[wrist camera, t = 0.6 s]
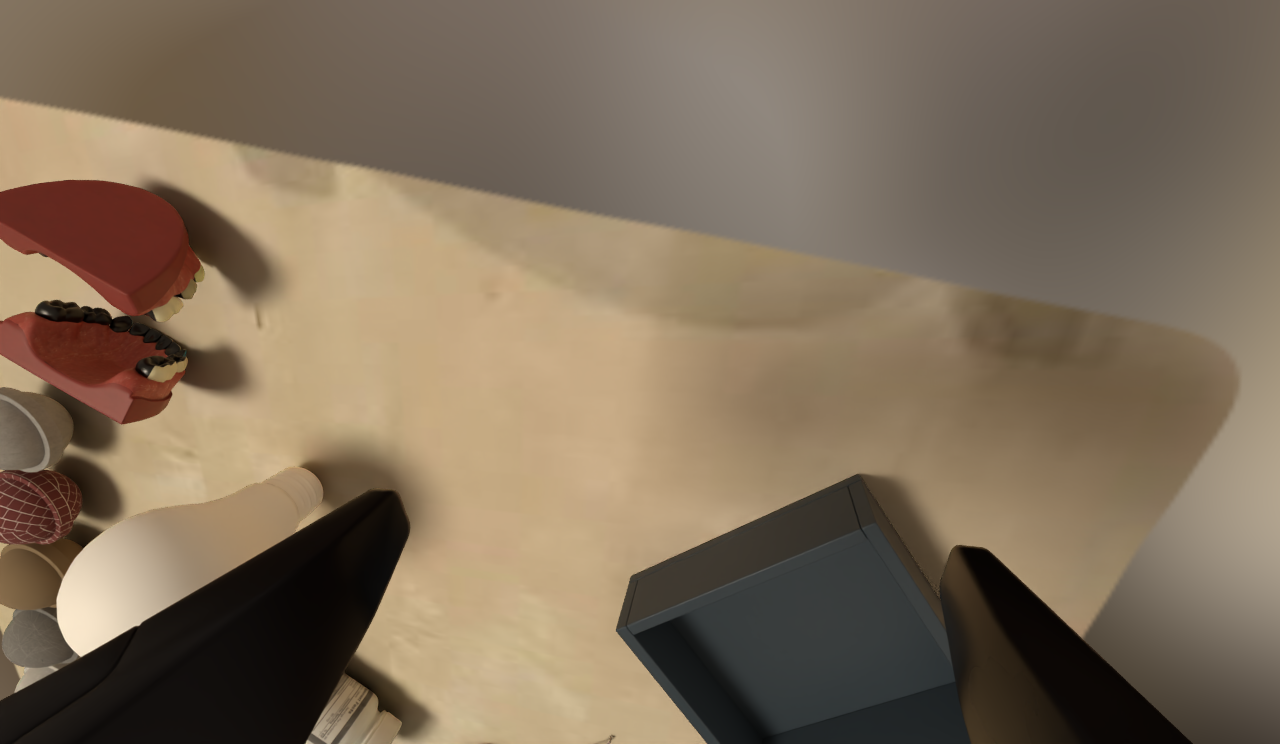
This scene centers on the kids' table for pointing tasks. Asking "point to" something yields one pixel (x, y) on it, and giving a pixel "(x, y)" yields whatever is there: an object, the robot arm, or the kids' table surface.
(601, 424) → the kids' table surface
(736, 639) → the bin
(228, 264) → the kids' table surface
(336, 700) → the pill bottle
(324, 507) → the kids' table surface
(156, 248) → the dental model
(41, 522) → the beads
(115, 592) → the lightbulb
